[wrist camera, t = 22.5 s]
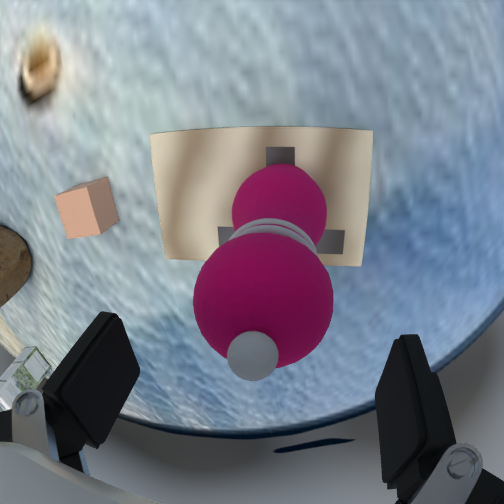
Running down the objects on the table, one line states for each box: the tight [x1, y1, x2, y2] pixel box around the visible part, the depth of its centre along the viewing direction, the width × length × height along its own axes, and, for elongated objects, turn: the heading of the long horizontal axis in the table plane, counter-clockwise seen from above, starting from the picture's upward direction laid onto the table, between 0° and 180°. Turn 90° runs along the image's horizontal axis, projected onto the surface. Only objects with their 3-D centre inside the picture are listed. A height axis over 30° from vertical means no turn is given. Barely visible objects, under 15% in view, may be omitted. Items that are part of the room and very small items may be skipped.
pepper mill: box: [193, 163, 333, 381], centre depth 18 cm, size 7×7×20 cm
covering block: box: [54, 177, 119, 239], centre depth 30 cm, size 5×5×4 cm
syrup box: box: [0, 347, 51, 411], centre depth 43 cm, size 6×6×14 cm
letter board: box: [150, 126, 373, 266], centre depth 28 cm, size 20×13×1 cm, turn 92°
